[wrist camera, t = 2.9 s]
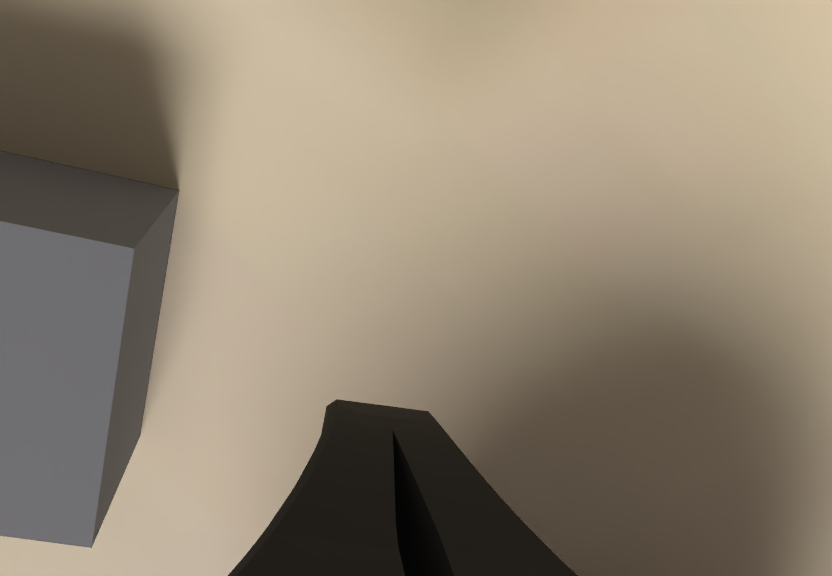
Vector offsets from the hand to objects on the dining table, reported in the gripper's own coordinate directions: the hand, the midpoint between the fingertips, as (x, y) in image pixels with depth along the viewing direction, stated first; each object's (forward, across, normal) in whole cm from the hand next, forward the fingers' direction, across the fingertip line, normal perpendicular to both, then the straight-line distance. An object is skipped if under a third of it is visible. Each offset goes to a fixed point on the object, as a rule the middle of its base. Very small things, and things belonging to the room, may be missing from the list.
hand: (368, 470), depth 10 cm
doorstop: (+7, +7, +2) cm, 10 cm away
